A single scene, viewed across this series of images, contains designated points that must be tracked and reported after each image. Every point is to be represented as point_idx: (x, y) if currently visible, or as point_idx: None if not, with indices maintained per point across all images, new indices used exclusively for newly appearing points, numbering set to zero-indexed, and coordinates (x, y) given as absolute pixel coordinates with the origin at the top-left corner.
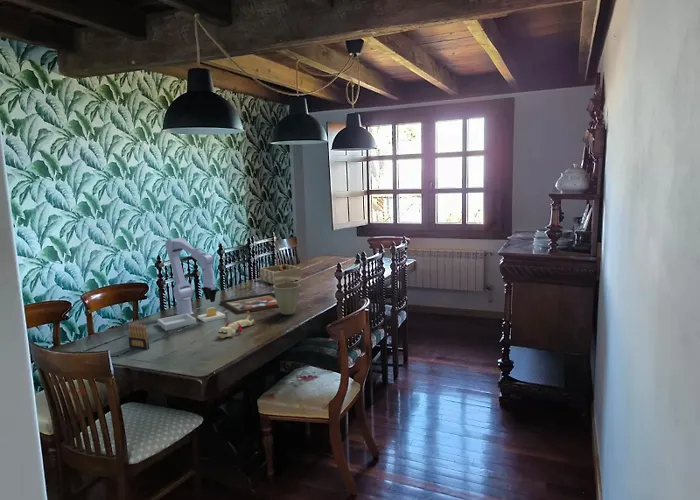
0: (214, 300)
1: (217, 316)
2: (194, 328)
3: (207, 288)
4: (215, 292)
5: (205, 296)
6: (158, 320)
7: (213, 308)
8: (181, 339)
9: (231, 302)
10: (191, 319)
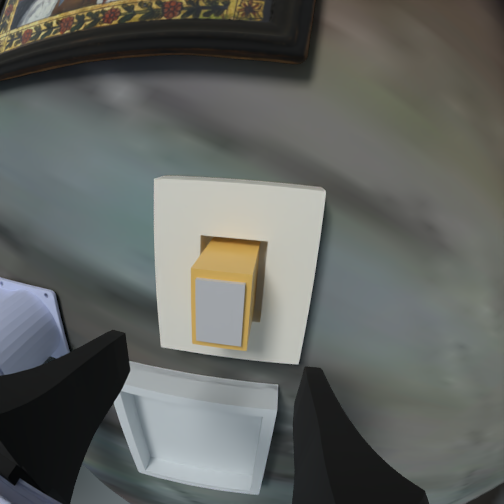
0: (325, 381)
1: (314, 266)
2: (346, 412)
3: (41, 458)
4: (386, 479)
5: (110, 404)
6: (153, 474)
7: (247, 298)
8: (418, 462)
9: (8, 23)
10: (270, 427)
